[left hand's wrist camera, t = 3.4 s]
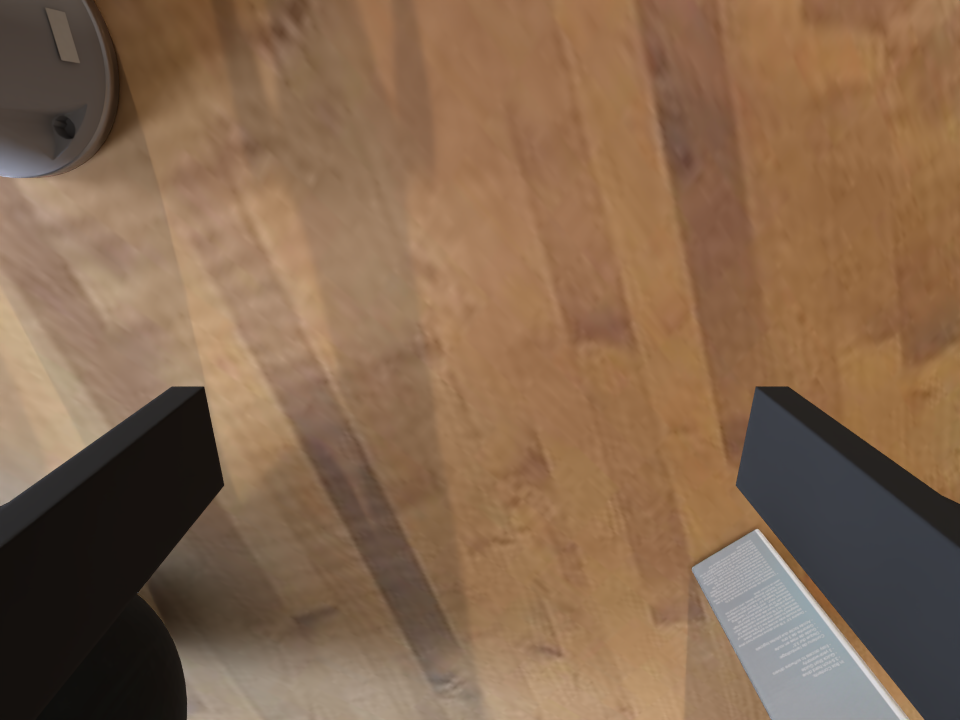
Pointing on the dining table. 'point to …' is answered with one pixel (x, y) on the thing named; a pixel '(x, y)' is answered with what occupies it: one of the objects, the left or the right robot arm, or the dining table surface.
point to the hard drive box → (788, 638)
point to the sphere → (126, 674)
